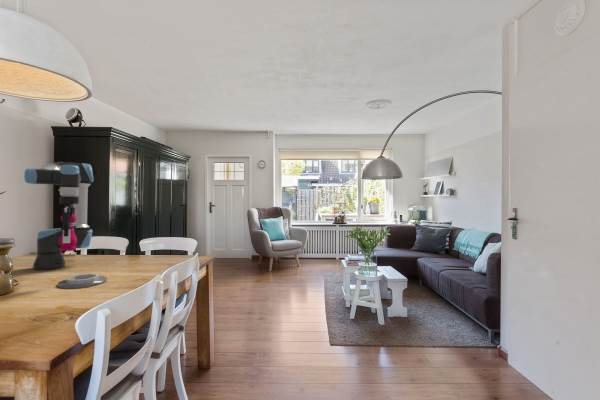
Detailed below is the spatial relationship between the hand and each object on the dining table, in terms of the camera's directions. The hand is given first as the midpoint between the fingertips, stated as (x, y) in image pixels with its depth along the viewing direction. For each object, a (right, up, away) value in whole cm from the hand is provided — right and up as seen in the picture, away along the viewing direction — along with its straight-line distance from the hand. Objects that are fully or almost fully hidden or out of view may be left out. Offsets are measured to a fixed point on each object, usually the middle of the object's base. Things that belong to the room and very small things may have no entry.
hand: (68, 241), depth 147 cm
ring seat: (+6, -21, +1) cm, 22 cm away
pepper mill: (0, -4, 0) cm, 4 cm away
